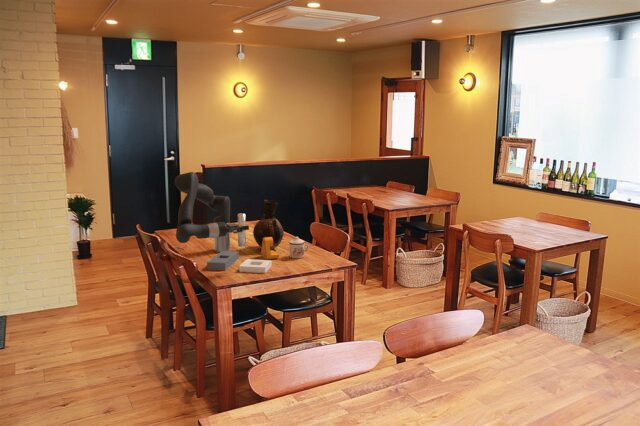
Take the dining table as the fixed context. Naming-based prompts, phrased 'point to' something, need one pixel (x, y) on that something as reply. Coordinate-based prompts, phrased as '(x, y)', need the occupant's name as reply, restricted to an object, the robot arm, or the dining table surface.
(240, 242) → the axle
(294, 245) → the teacup with lid
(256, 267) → the cradle
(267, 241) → the bracket
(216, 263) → the gray rectangular block
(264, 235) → the ceramic vessel
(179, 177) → the robot arm
